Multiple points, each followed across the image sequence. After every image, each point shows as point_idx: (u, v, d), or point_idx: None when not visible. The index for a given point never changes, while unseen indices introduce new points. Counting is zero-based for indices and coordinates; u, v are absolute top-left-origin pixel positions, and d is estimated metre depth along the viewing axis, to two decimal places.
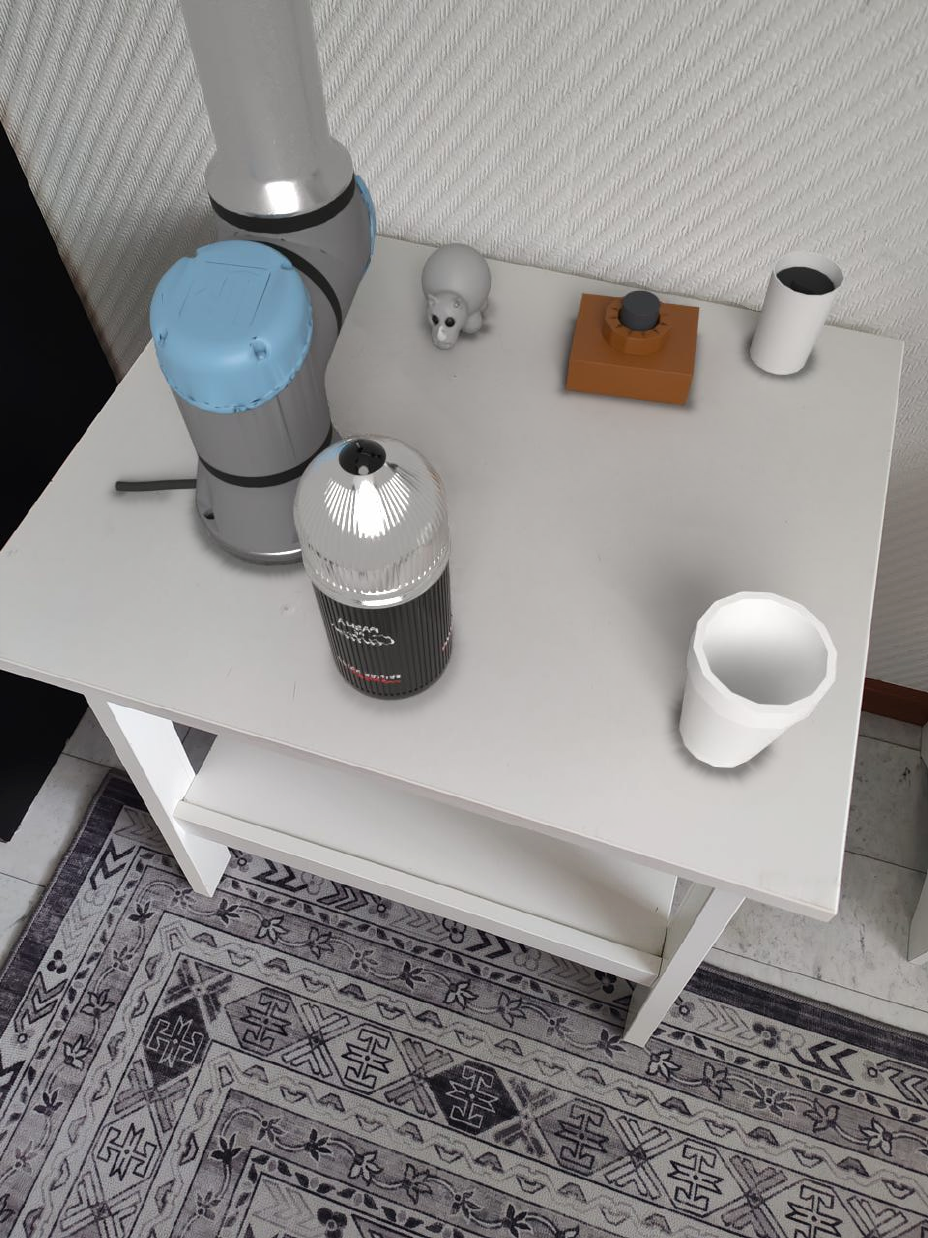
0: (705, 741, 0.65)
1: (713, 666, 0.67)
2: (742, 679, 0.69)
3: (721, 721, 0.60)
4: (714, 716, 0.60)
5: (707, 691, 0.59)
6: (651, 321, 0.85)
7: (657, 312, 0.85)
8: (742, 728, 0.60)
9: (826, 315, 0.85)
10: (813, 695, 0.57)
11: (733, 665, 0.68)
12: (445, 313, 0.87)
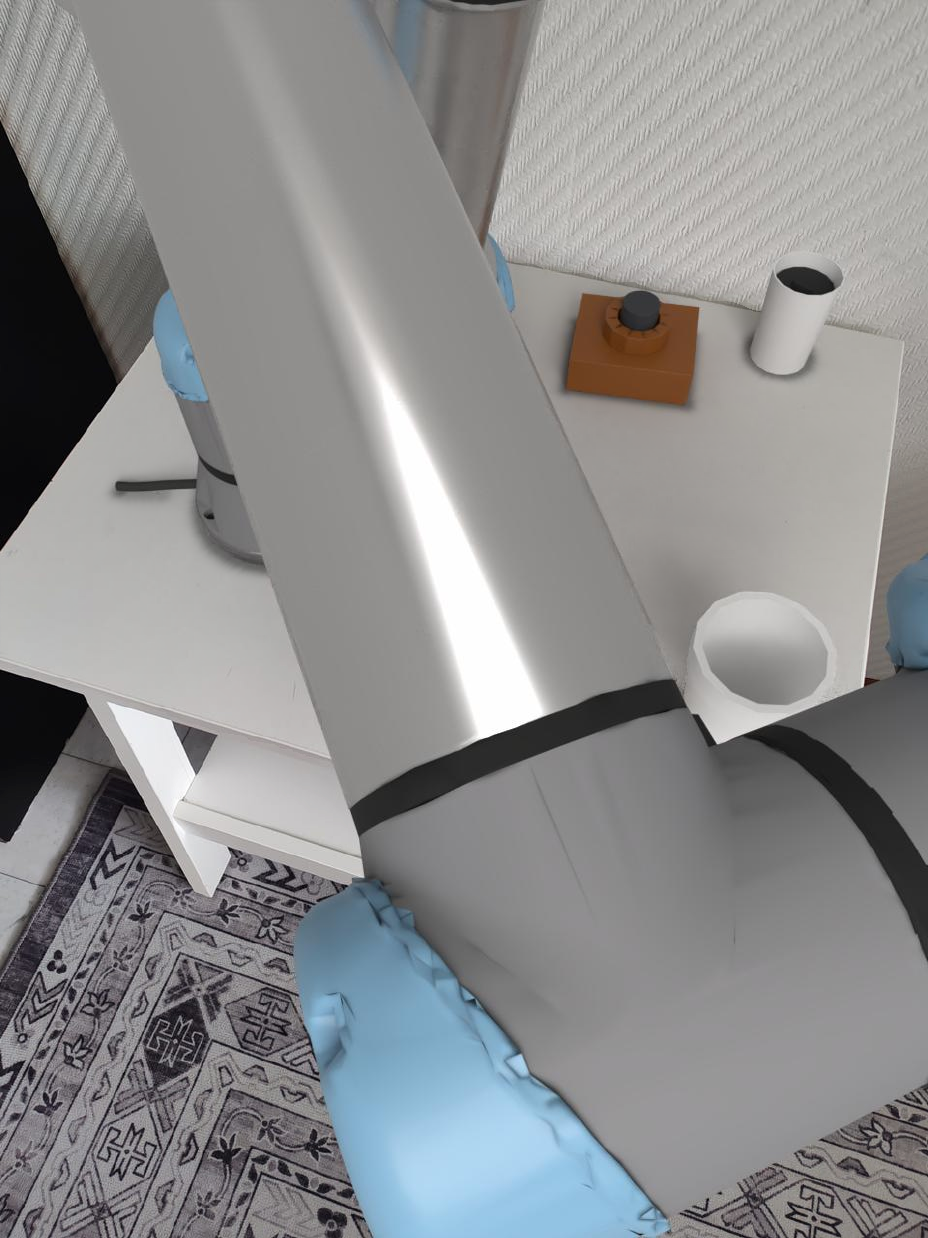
0: None
1: (713, 666, 0.67)
2: (742, 679, 0.69)
3: (721, 721, 0.60)
4: (714, 716, 0.60)
5: (707, 691, 0.59)
6: (651, 321, 0.85)
7: (657, 312, 0.85)
8: (742, 728, 0.60)
9: (826, 315, 0.85)
10: (813, 695, 0.57)
11: (733, 665, 0.68)
12: None
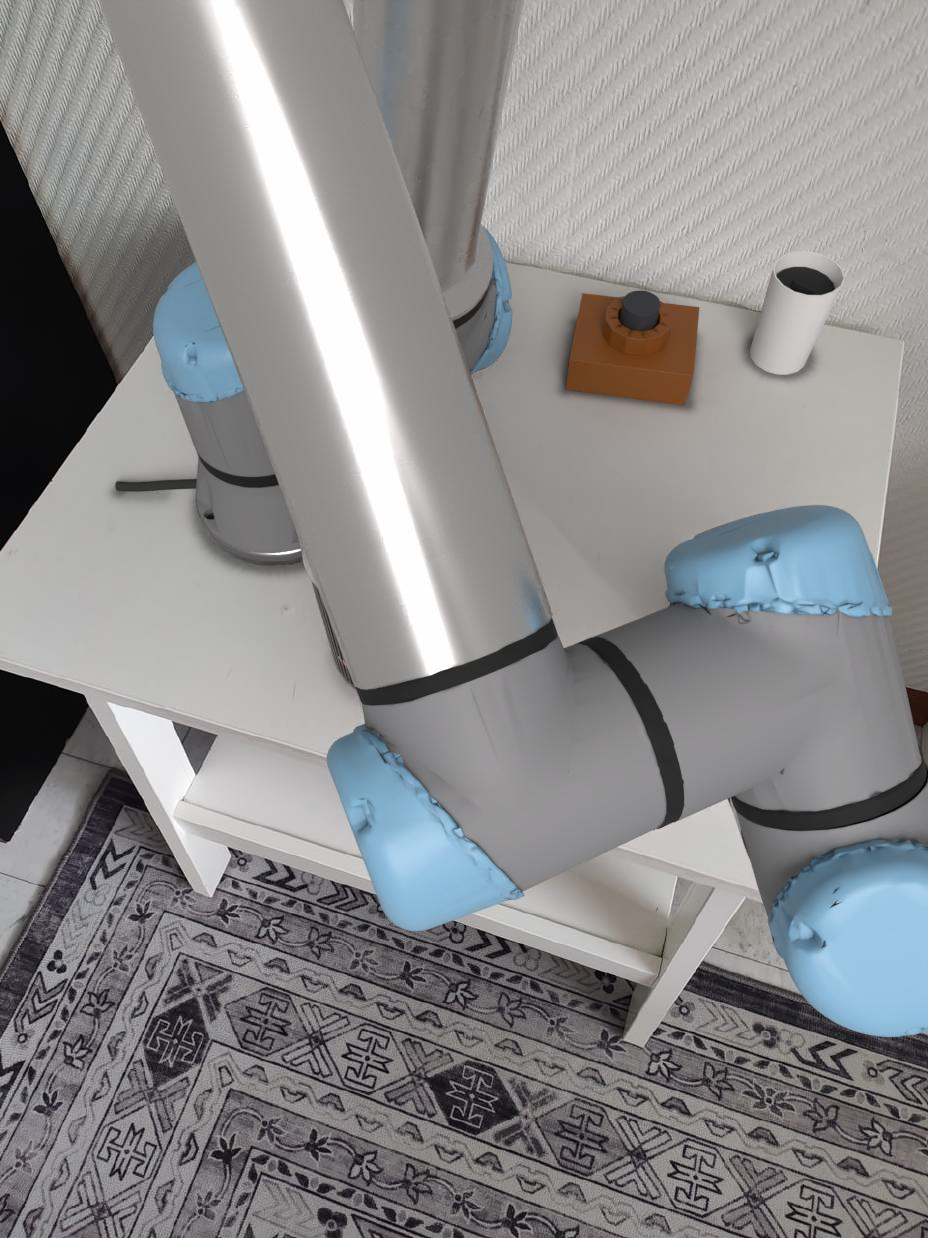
0: None
1: None
2: None
3: None
4: None
5: None
6: (651, 321, 0.85)
7: (657, 312, 0.85)
8: None
9: (826, 315, 0.85)
10: None
11: None
12: None
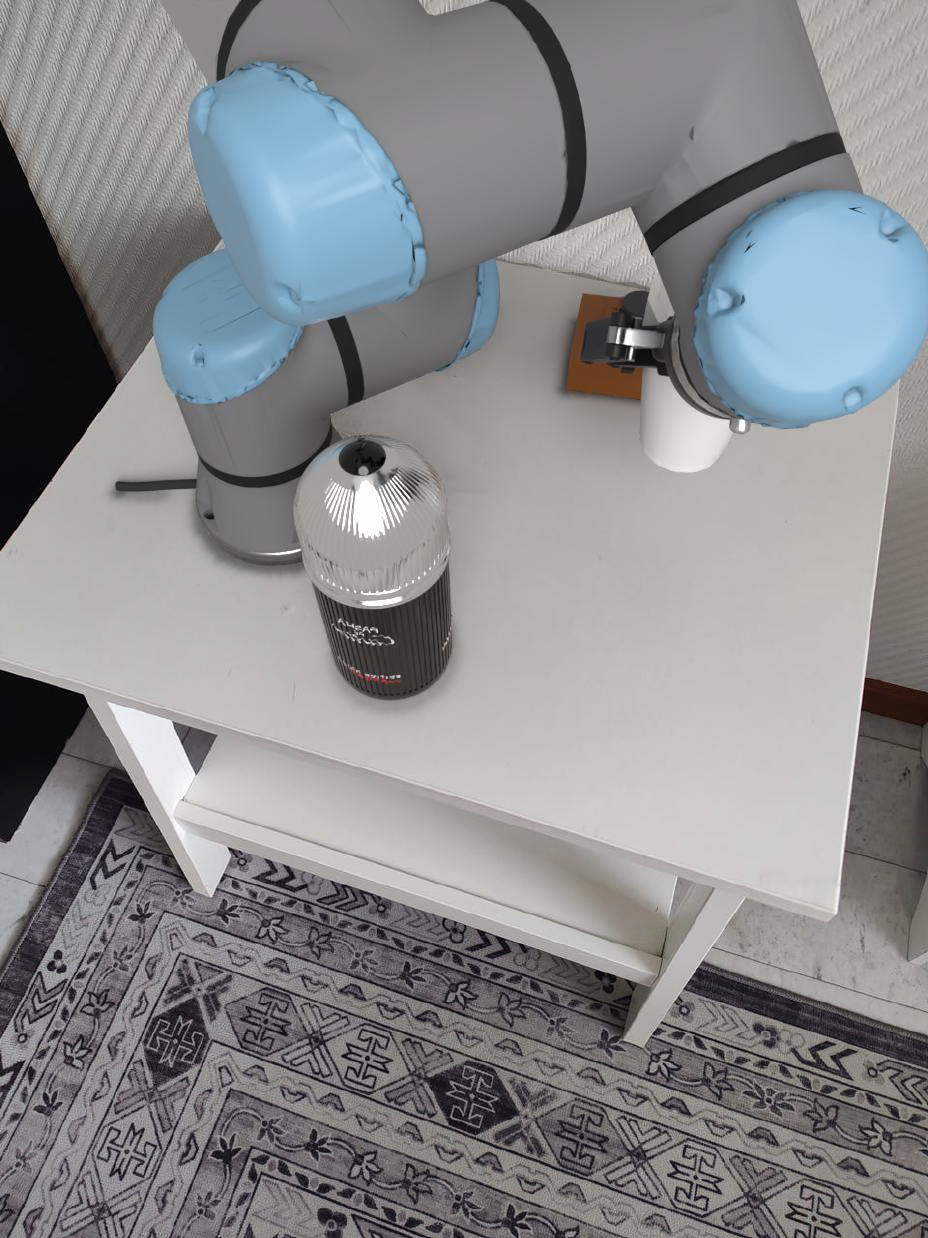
0: (663, 429, 0.62)
1: None
2: None
3: None
4: None
5: None
6: None
7: None
8: None
9: None
10: None
11: None
12: None
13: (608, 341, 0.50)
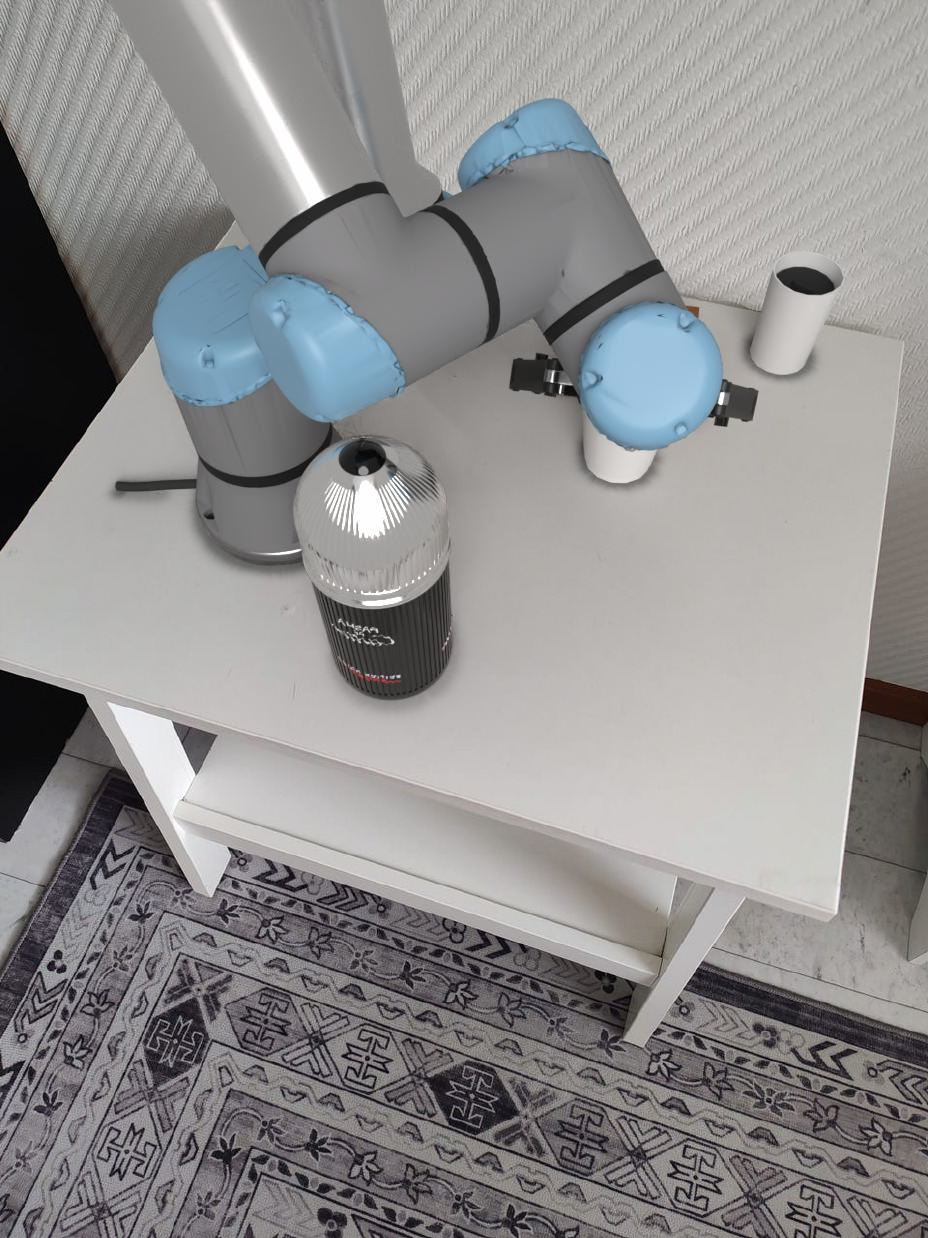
0: (599, 449, 0.80)
1: None
2: None
3: None
4: None
5: None
6: None
7: None
8: None
9: (826, 315, 0.85)
10: None
11: None
12: None
13: (546, 380, 0.66)
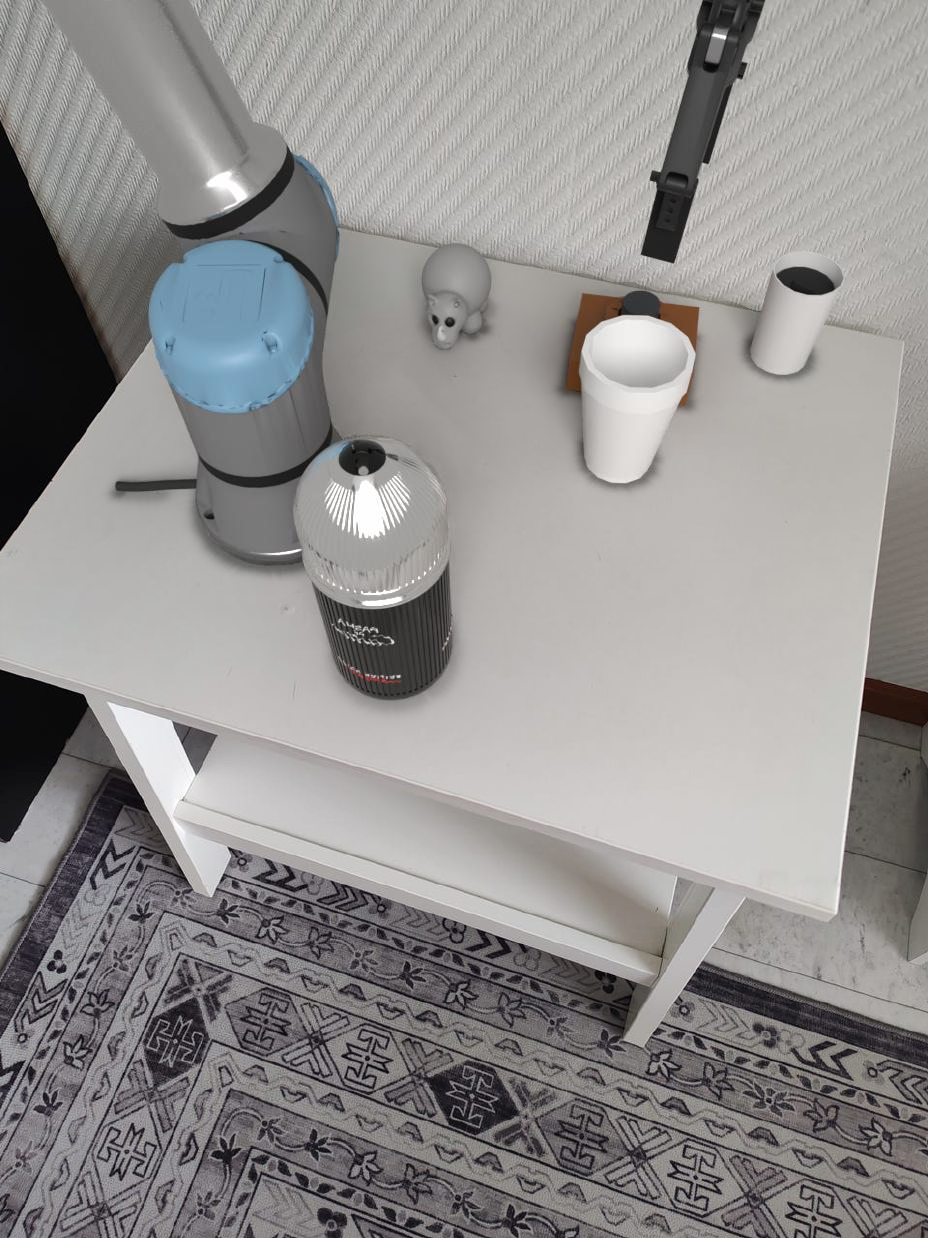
0: (599, 449, 0.80)
1: None
2: None
3: (606, 415, 0.75)
4: (600, 411, 0.75)
5: (592, 385, 0.74)
6: None
7: (657, 312, 0.85)
8: (621, 418, 0.74)
9: (826, 315, 0.85)
10: (673, 381, 0.72)
11: None
12: (445, 313, 0.87)
13: (726, 34, 0.55)
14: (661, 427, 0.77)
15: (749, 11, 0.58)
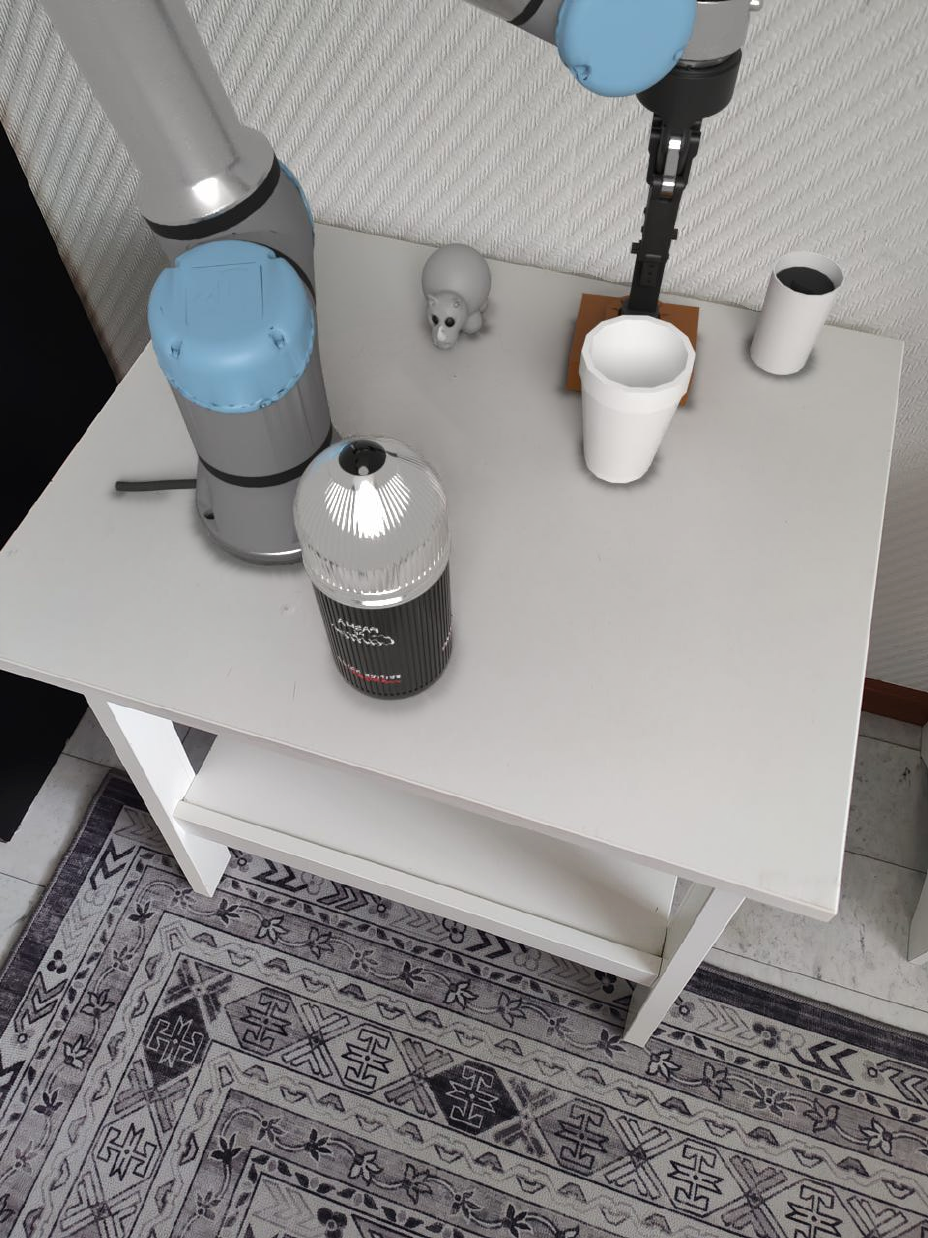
0: (599, 449, 0.80)
1: None
2: None
3: (605, 415, 0.75)
4: (600, 411, 0.75)
5: (592, 385, 0.74)
6: None
7: (656, 317, 0.85)
8: (621, 418, 0.74)
9: (826, 315, 0.85)
10: (673, 381, 0.72)
11: None
12: (445, 313, 0.87)
13: (672, 187, 0.68)
14: (661, 427, 0.77)
15: (691, 132, 0.69)
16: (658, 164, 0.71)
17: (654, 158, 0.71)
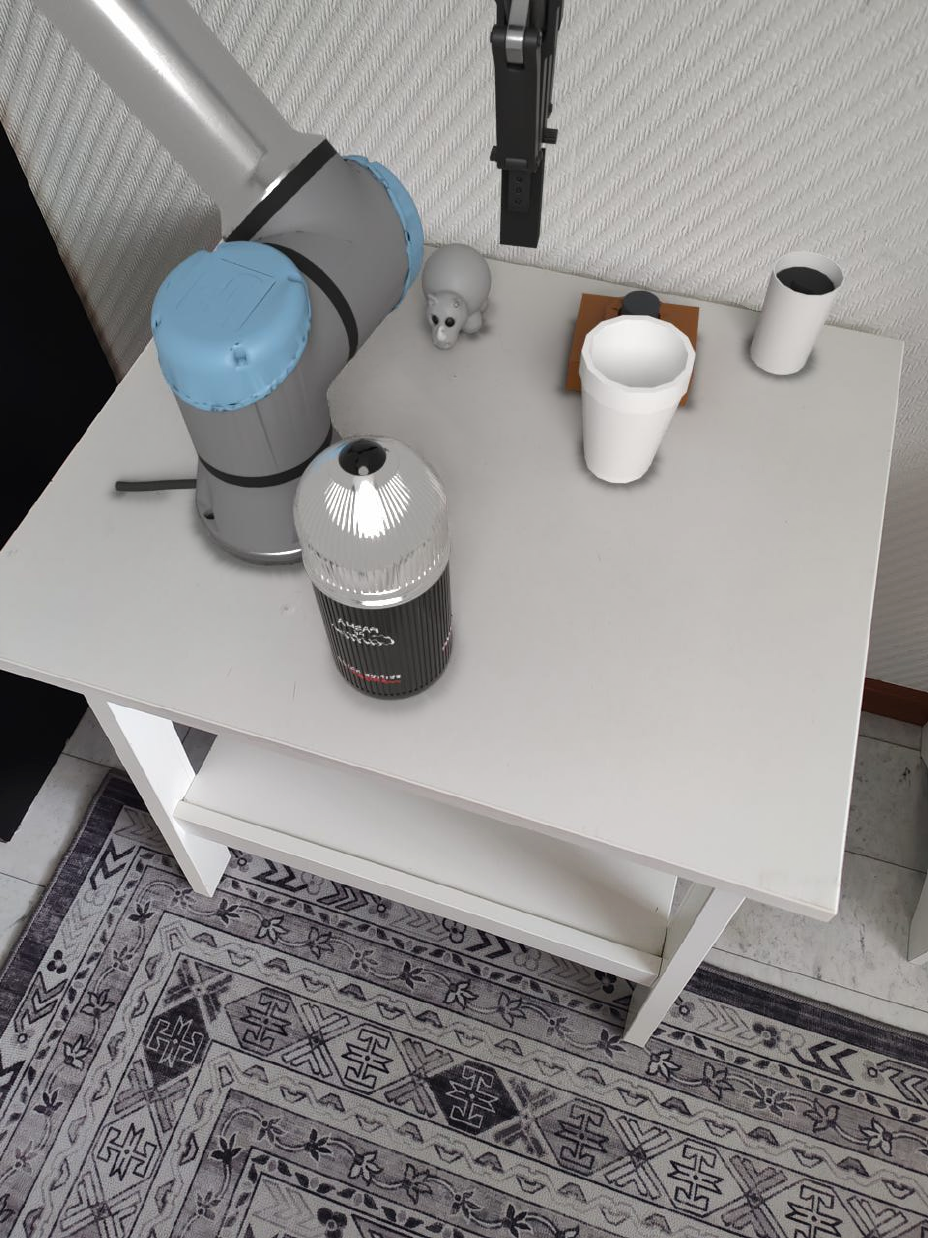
0: (599, 449, 0.80)
1: None
2: None
3: (605, 415, 0.75)
4: (600, 411, 0.75)
5: (592, 385, 0.74)
6: None
7: (657, 312, 0.85)
8: (621, 418, 0.74)
9: (826, 315, 0.85)
10: (673, 381, 0.72)
11: None
12: (445, 313, 0.87)
13: (521, 43, 0.47)
14: (661, 427, 0.77)
15: None
16: (506, 15, 0.49)
17: (503, 9, 0.49)
